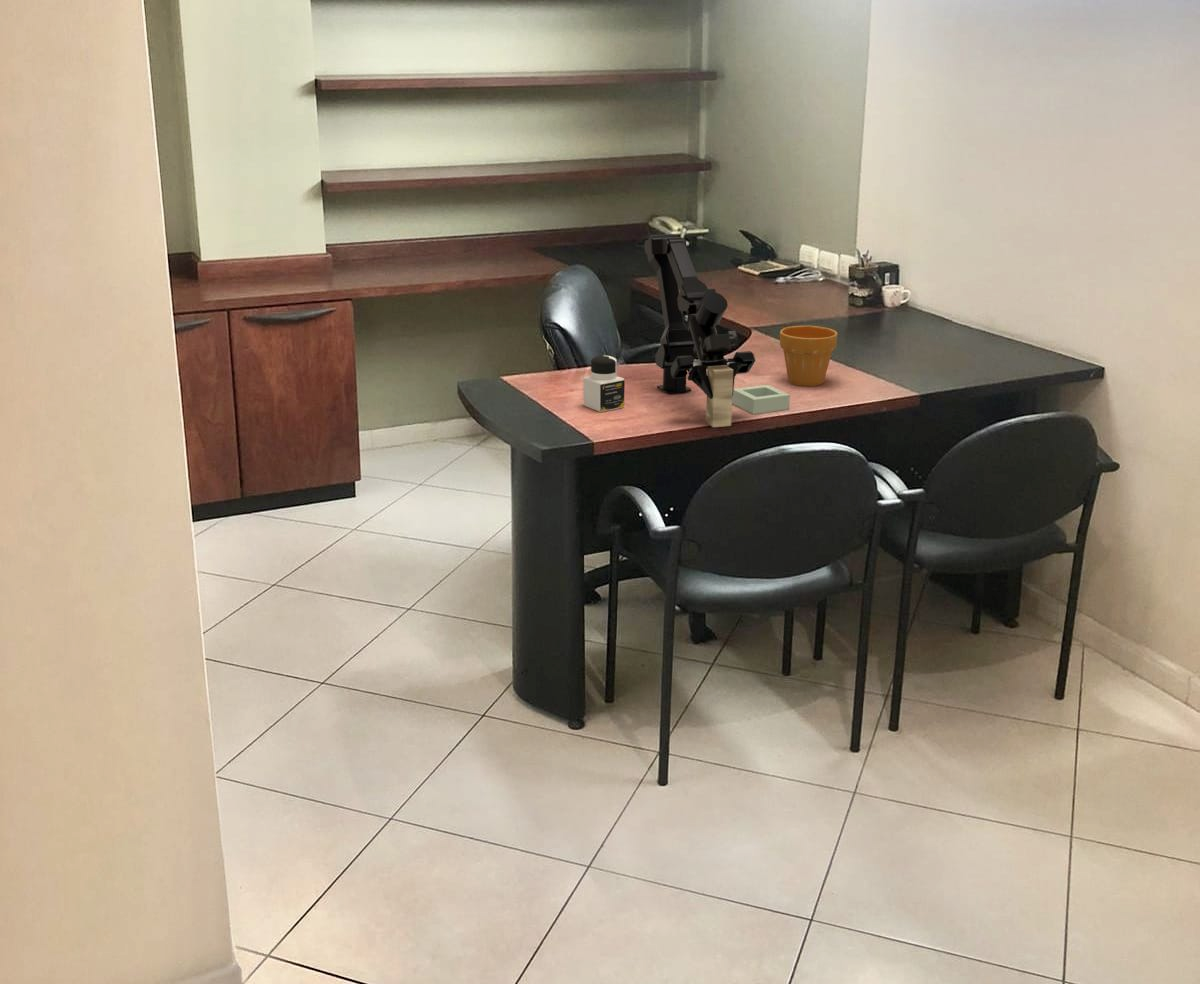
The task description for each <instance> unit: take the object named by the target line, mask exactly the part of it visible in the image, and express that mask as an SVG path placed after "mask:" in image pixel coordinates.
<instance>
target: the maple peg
mask: <svg viewBox="0 0 1200 984" xmlns="http://www.w3.org/2000/svg"><path fill="white" fill-rule="evenodd" d="M706 371H707V377H708V380H709V383H710V386H711V389H712V393H713V398H712V399H710V398H709V397H708V396H707V395H706V400H705V401H706V405H705V423H706V424H708V425H709V426H711V427H712V428H719V427H721V428H722V427H731V426H732V413H733V411H732V409H733V404H732V391H733V369H731V368H730V367H728V366H727V365H719V366H708V369H707V370H706Z"/></svg>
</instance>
